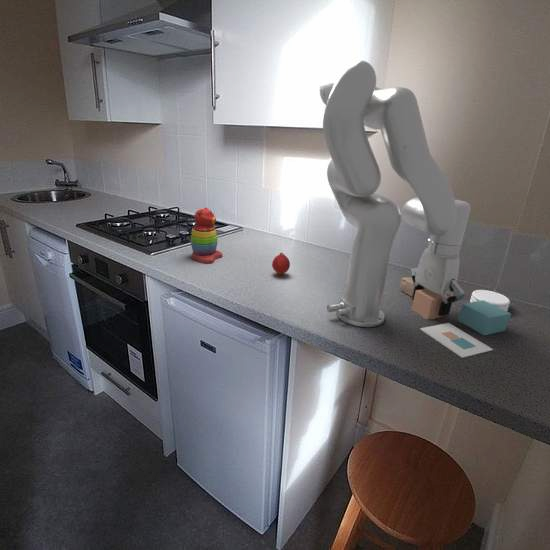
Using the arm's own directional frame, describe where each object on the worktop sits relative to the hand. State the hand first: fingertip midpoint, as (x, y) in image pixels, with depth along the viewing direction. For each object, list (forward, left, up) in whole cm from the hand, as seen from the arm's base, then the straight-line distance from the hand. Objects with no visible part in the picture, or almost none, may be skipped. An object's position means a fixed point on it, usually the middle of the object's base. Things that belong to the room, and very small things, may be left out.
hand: (429, 307), depth 100 cm
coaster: (+22, -2, -2) cm, 22 cm away
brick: (+11, +11, -2) cm, 16 cm away
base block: (+9, -10, -2) cm, 13 cm away
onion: (-29, +36, -2) cm, 46 cm away
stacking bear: (-49, +58, -2) cm, 76 cm away
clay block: (0, 0, -2) cm, 2 cm away
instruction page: (-4, -13, -2) cm, 14 cm away
